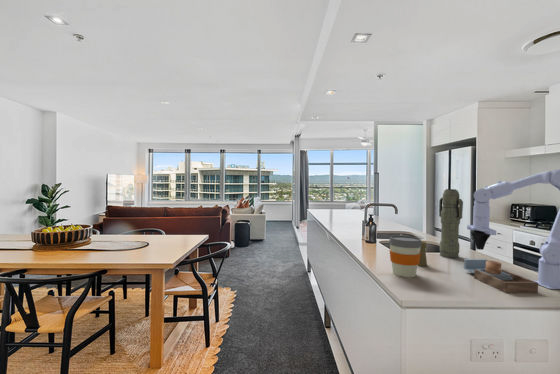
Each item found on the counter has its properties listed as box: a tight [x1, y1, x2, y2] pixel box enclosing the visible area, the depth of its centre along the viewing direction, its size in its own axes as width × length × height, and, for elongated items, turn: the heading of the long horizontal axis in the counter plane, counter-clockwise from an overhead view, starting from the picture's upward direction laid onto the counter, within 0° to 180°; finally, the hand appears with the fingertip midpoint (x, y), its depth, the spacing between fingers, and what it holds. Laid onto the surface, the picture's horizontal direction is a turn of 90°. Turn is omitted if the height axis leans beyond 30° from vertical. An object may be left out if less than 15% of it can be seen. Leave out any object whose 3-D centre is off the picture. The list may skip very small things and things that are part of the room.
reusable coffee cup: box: [388, 234, 422, 278], centre depth 125 cm, size 13×13×15 cm
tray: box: [463, 258, 513, 280], centre depth 123 cm, size 14×10×4 cm
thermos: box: [438, 188, 464, 259], centre depth 157 cm, size 9×12×35 cm
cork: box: [417, 240, 428, 267], centre depth 140 cm, size 6×6×11 cm
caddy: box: [473, 268, 539, 294], centre depth 114 cm, size 16×12×4 cm
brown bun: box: [485, 260, 502, 275], centre depth 119 cm, size 5×5×5 cm
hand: (479, 249), depth 127 cm, fingers closed
